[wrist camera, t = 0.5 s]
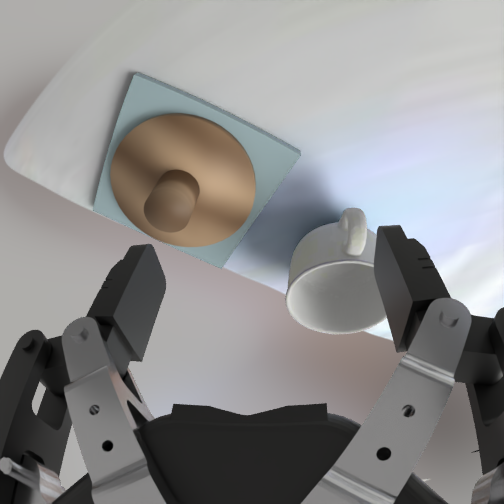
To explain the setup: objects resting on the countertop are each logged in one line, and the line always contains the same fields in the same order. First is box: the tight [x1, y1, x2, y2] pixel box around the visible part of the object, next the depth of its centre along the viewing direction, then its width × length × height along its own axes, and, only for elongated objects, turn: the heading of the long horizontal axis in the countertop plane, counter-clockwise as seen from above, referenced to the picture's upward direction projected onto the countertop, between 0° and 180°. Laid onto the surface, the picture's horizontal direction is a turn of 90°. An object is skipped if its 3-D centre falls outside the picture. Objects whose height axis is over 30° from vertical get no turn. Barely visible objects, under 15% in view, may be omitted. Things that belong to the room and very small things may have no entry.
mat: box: [93, 73, 301, 269], centre depth 30 cm, size 16×16×1 cm
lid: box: [110, 113, 256, 247], centre depth 28 cm, size 14×14×5 cm
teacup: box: [286, 208, 387, 334], centre depth 31 cm, size 14×11×8 cm
